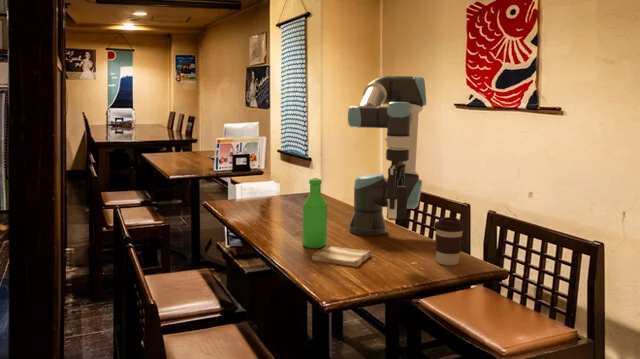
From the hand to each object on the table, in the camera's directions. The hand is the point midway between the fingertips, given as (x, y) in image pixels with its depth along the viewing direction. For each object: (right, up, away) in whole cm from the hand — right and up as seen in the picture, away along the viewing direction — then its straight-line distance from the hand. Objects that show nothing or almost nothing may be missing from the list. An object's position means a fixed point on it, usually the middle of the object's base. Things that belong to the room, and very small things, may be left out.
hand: (395, 215), depth 196 cm
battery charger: (0, -1, 0) cm, 1 cm away
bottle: (-28, -12, +16) cm, 34 cm away
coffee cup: (+17, -16, -2) cm, 24 cm away
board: (-18, -15, +2) cm, 23 cm away
